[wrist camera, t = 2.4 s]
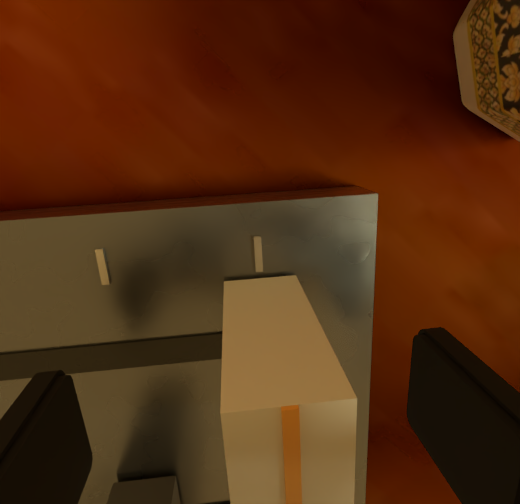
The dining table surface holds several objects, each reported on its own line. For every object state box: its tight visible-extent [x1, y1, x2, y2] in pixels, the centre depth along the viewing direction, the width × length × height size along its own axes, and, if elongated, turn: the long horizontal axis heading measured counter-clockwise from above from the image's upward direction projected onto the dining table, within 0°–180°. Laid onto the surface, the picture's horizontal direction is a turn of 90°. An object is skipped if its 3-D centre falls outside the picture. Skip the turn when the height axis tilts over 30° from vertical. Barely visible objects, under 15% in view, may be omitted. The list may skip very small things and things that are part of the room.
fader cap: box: [220, 275, 357, 504], centre depth 10 cm, size 2×5×6 cm, turn 3°
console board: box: [0, 186, 378, 504], centre depth 15 cm, size 22×18×2 cm
